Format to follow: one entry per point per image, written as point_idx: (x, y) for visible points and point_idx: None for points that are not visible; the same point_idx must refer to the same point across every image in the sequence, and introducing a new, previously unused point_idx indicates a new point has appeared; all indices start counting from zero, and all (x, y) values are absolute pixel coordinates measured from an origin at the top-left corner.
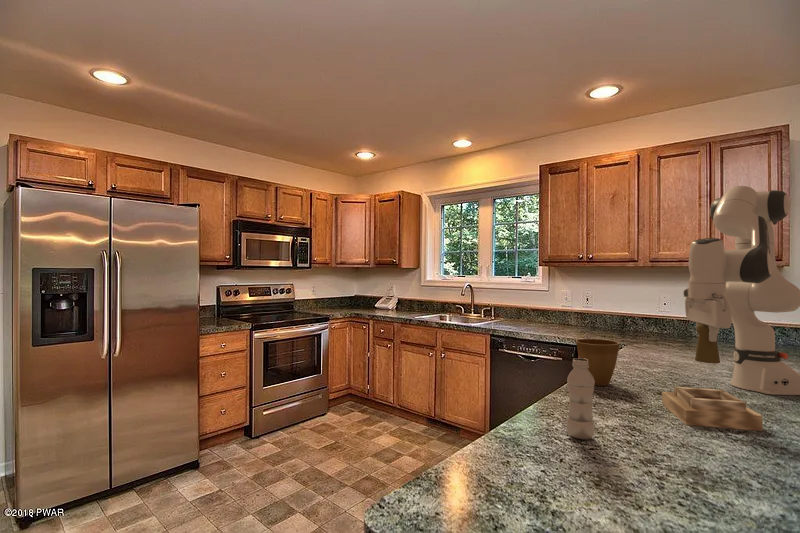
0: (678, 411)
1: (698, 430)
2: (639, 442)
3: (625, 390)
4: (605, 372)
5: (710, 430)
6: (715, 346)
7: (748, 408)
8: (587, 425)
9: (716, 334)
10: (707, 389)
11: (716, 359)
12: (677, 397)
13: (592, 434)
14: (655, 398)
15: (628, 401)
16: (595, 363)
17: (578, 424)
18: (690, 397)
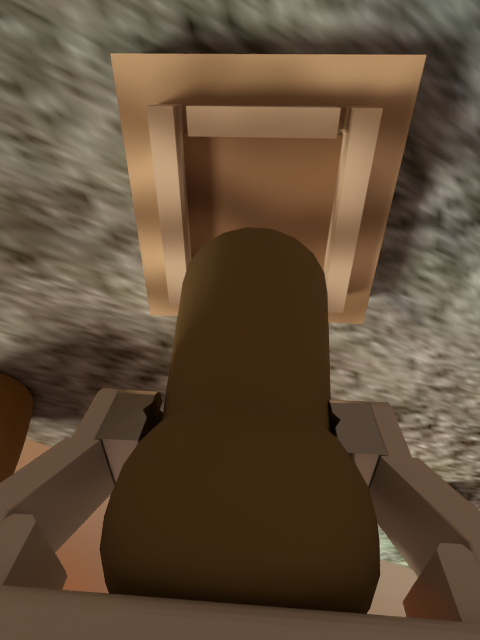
0: None
1: (399, 286)
2: (471, 427)
3: (44, 346)
4: (12, 423)
5: (398, 253)
6: (320, 344)
7: (315, 59)
8: None
9: (432, 480)
10: (169, 185)
11: (323, 286)
12: None
13: (465, 498)
14: (98, 290)
15: (168, 369)
16: (12, 471)
17: None
18: None
